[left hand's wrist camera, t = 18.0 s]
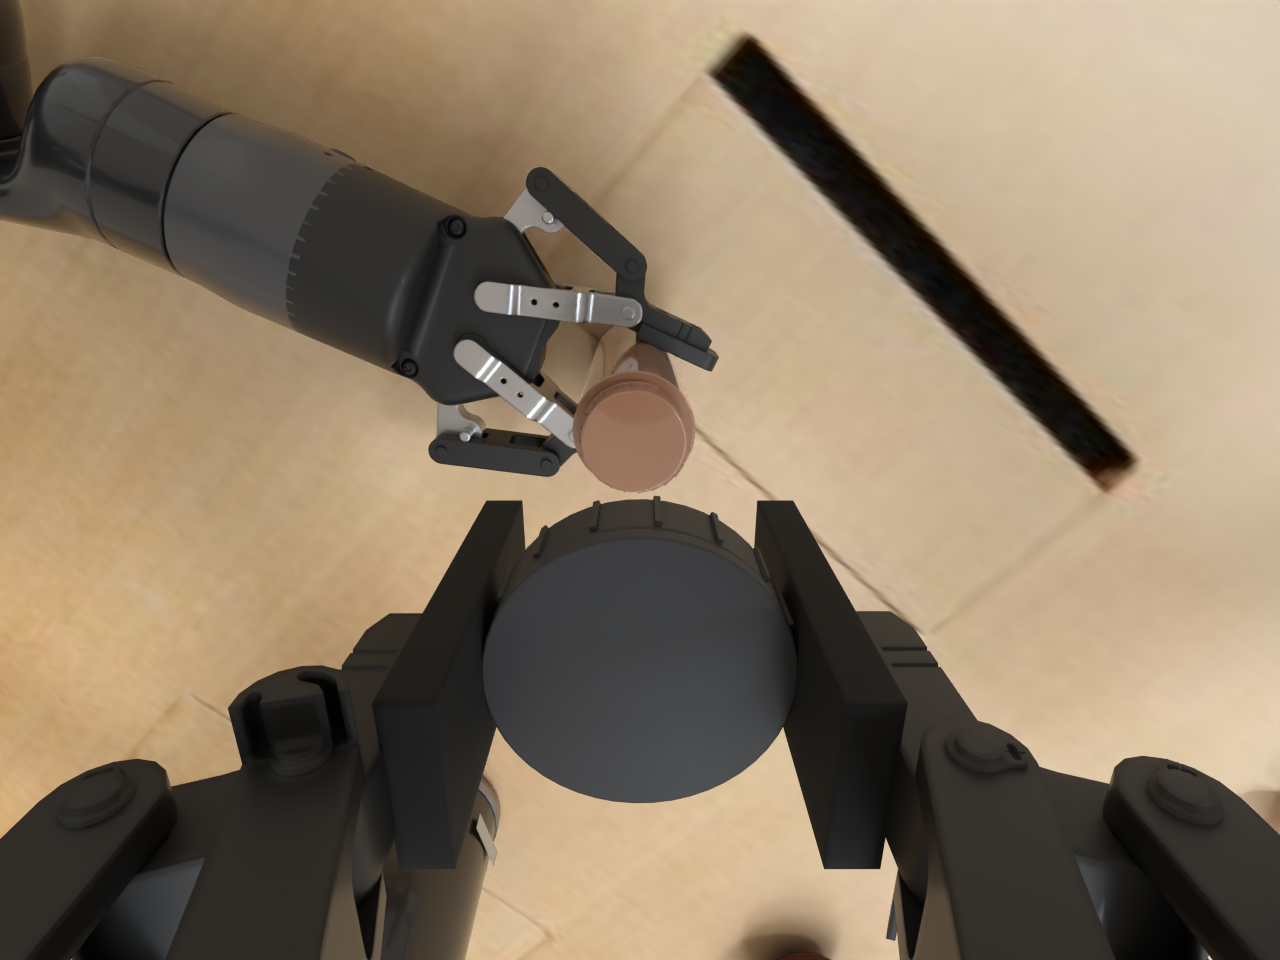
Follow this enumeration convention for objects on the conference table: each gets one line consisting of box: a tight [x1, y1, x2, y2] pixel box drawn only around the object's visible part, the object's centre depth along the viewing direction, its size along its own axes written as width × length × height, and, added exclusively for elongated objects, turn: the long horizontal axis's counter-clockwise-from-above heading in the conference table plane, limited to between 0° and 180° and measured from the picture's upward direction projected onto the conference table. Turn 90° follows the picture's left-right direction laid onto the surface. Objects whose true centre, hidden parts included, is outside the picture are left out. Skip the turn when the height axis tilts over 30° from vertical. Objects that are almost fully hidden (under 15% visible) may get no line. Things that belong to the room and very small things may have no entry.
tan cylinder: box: [573, 326, 695, 493], centre depth 30 cm, size 4×4×15 cm
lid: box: [482, 496, 798, 803], centre depth 11 cm, size 5×5×2 cm
